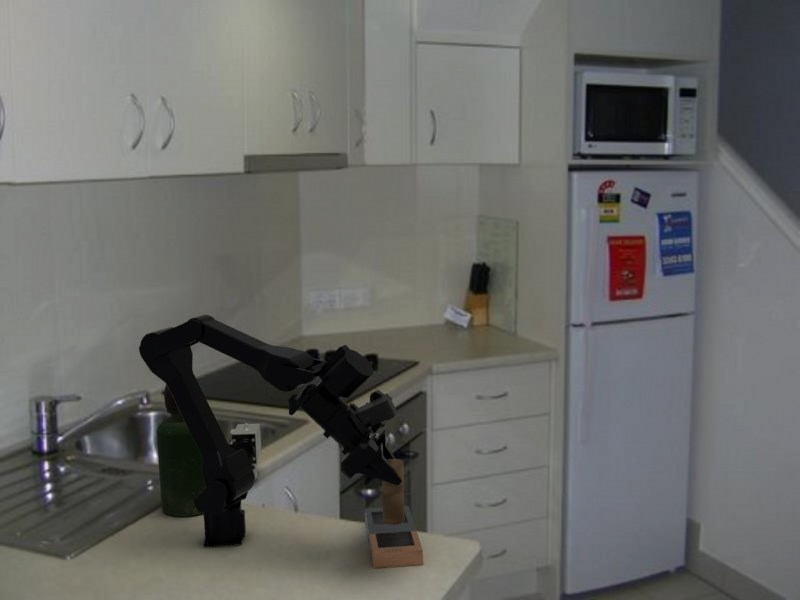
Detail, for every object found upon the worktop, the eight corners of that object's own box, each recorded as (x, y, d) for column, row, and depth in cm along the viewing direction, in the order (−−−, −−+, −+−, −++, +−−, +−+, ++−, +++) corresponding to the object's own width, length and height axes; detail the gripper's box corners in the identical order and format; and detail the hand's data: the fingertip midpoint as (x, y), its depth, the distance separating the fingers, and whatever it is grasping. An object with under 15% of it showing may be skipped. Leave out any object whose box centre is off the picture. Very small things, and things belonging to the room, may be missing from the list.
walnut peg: (384, 525, 149) (382, 466, 148) (382, 517, 153) (380, 459, 152) (405, 523, 150) (404, 465, 148) (403, 515, 153) (402, 458, 152)
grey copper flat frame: (373, 568, 147) (373, 553, 146) (365, 521, 166) (364, 508, 166) (423, 564, 148) (422, 549, 147) (408, 518, 167) (408, 505, 167)
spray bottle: (150, 514, 173) (142, 385, 170) (182, 496, 183) (174, 373, 179) (197, 520, 169) (189, 388, 166) (227, 501, 179) (220, 376, 176)
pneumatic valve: (263, 469, 198) (260, 415, 196) (256, 488, 186) (253, 431, 184) (237, 470, 197) (234, 416, 196) (229, 489, 186) (226, 432, 184)
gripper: (359, 393, 139) (433, 463, 140) (371, 367, 158) (437, 429, 158) (310, 443, 141) (383, 512, 142) (328, 412, 159) (392, 473, 160)
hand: (401, 479), depth 150 cm, fingers closed on walnut peg, 4 cm apart
